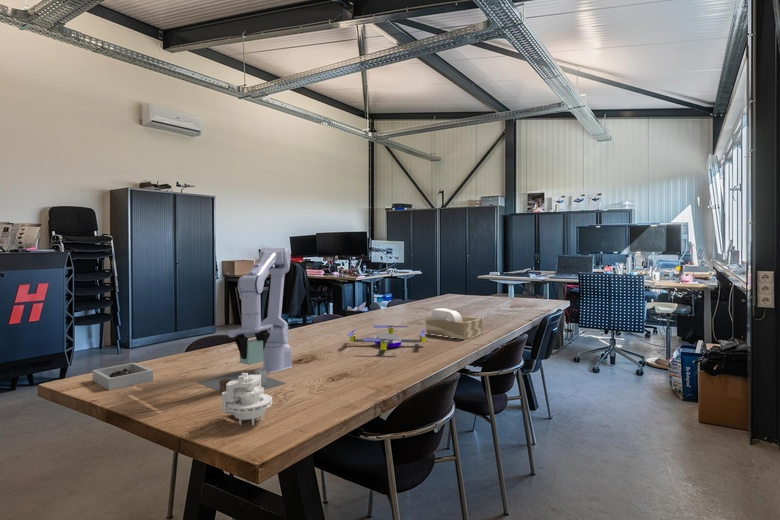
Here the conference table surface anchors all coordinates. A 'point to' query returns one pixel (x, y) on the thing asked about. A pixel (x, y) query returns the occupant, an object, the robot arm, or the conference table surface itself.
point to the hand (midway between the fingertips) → (252, 356)
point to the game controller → (120, 373)
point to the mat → (215, 384)
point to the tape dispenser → (446, 315)
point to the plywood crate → (455, 327)
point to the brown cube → (223, 384)
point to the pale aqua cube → (253, 352)
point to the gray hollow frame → (136, 377)
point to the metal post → (262, 376)
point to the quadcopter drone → (387, 338)
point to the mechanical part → (245, 398)
